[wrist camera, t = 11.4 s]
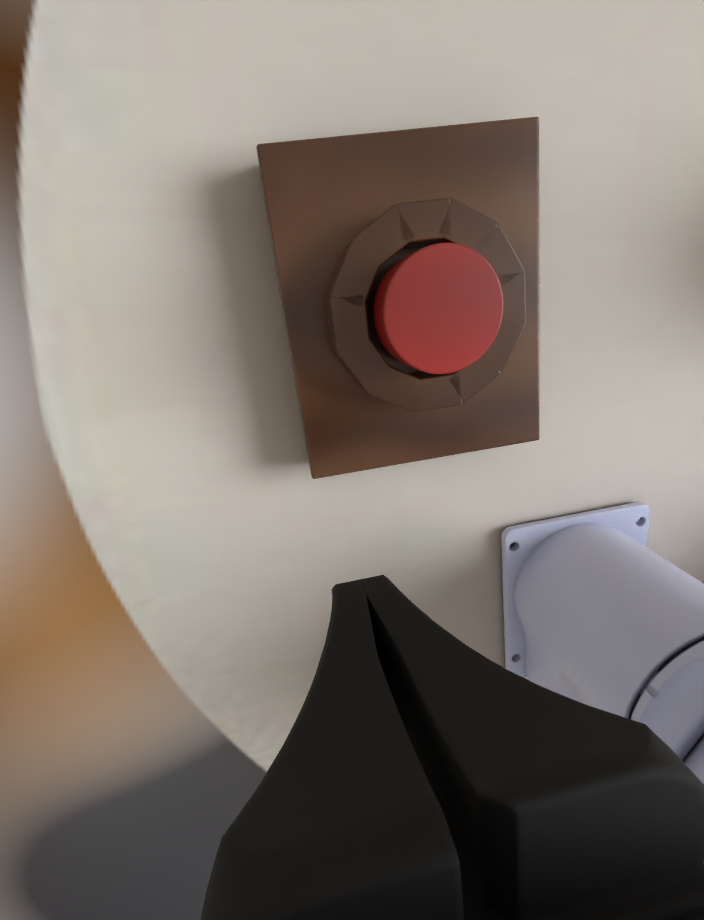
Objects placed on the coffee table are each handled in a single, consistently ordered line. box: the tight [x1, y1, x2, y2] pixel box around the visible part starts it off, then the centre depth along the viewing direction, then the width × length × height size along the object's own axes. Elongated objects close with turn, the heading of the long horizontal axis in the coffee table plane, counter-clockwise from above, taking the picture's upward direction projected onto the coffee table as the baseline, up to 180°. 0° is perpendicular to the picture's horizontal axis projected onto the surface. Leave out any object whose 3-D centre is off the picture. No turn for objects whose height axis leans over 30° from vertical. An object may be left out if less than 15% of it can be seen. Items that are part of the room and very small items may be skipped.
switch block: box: [257, 117, 539, 479], centre depth 18 cm, size 12×10×4 cm
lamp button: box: [373, 243, 504, 374], centre depth 15 cm, size 4×4×2 cm
